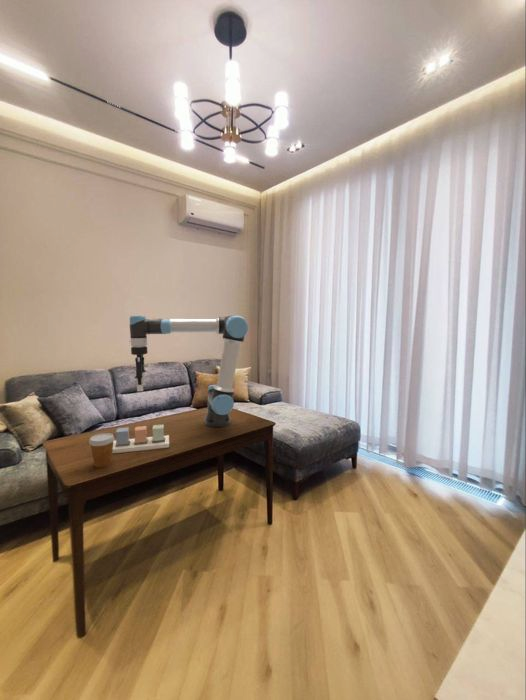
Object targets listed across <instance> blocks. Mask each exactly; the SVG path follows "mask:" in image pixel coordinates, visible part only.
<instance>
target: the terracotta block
mask: <svg viewBox="0 0 526 700" xmlns="http://www.w3.org/2000/svg"><path fill="white" fill-rule="evenodd" d="M147 428H148V426H147V425H143V426H135V427H134V438H135V443H137V442H146V439H147V437H148V435H147V432H148V431H147Z"/></svg>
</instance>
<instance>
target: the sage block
mask: <svg viewBox="0 0 526 700" xmlns="http://www.w3.org/2000/svg"><path fill="white" fill-rule="evenodd" d="M164 427H165V425H164V424H155V425H154V424H153V425H152V437H153V441H157V440H164V436H165V431H164V430H165V428H164Z"/></svg>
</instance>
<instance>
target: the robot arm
mask: <svg viewBox="0 0 526 700" xmlns="http://www.w3.org/2000/svg"><path fill="white" fill-rule="evenodd" d="M248 331H249V324H248V322H247V320H246V318H244V317H242V316H240V315H237V314H235V315H228V316H220V317H219V316H218V317H216V318H154V319H153V318H152V319H149V318H148V319H147V317H146V315H143V314H142V315H137V314H136V315H131V316H129V334H130V335H129V337H130V339H129V343H130V346H131V348H130V349H131V350H130V352H131V353H130V354H131V355H132V356H136V357H135V358H134V360H135V361H134V362H135V371H136V372H135V374H136V375H135V376H134V379H136V392H143V391H144V386H145V385H146V378H145V377H146V376H145V373H146V372H147V371H146V369H145V356H144V355H147V354H148V347H147V346H148V335H167V334H168V335H169V334H171V333H215V334H218V335H222V340H223V341H224V343H223V349H222V354H221V360H220V365H219V369H218V376H217V381H216V384H210V385H208V387H207V391H206V392H207V411H206V415H205V417H204V424H205V425H206V426H207V427H211V428H221V427H226V426H228V425H230V424H231V416H230V414H229V413H231V412H232V410H233V409H234V406H235V405H234V404H235V403H234V394H235V389H234V387H233V384H234V380H235V374H236V368H237V364H238V358H239V352H240V347H241V344H243V343H244V341H245V336H246V334H247V333H248Z"/></svg>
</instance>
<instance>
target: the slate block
mask: <svg viewBox="0 0 526 700" xmlns="http://www.w3.org/2000/svg"><path fill="white" fill-rule="evenodd" d="M129 439H130V427H118V428H117V429H116V431H115V440H116V445H117V444H127V443H128V442H129Z"/></svg>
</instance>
